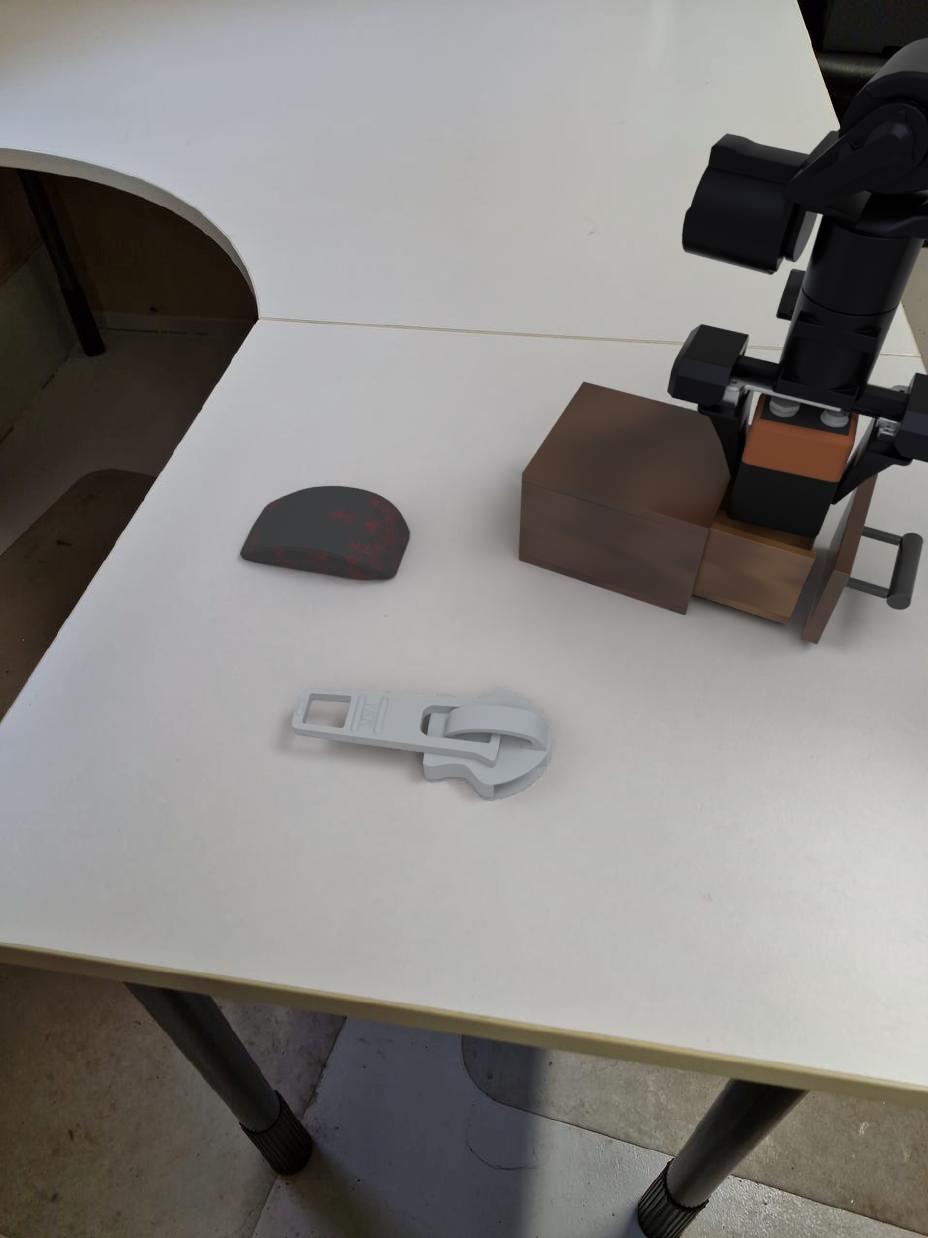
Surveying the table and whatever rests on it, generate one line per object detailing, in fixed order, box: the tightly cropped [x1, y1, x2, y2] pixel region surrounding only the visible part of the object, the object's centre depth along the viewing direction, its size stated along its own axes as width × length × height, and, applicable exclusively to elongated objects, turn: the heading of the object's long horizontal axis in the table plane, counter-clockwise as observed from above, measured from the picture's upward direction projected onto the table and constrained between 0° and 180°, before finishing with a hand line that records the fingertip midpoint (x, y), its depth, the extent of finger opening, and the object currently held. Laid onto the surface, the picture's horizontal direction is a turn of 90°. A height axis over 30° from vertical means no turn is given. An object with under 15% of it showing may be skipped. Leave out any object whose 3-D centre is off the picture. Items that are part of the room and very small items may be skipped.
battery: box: [727, 393, 860, 538], centre depth 62 cm, size 4×7×10 cm, turn 68°
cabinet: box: [518, 381, 751, 616], centre depth 71 cm, size 15×13×10 cm
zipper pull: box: [291, 686, 554, 801], centre depth 60 cm, size 8×18×4 cm, turn 83°
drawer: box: [692, 473, 924, 645], centre depth 67 cm, size 18×12×8 cm, turn 64°
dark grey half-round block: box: [239, 485, 411, 580], centre depth 73 cm, size 8×14×4 cm, turn 77°
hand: (783, 487), depth 64 cm, fingers closed on battery, 7 cm apart
